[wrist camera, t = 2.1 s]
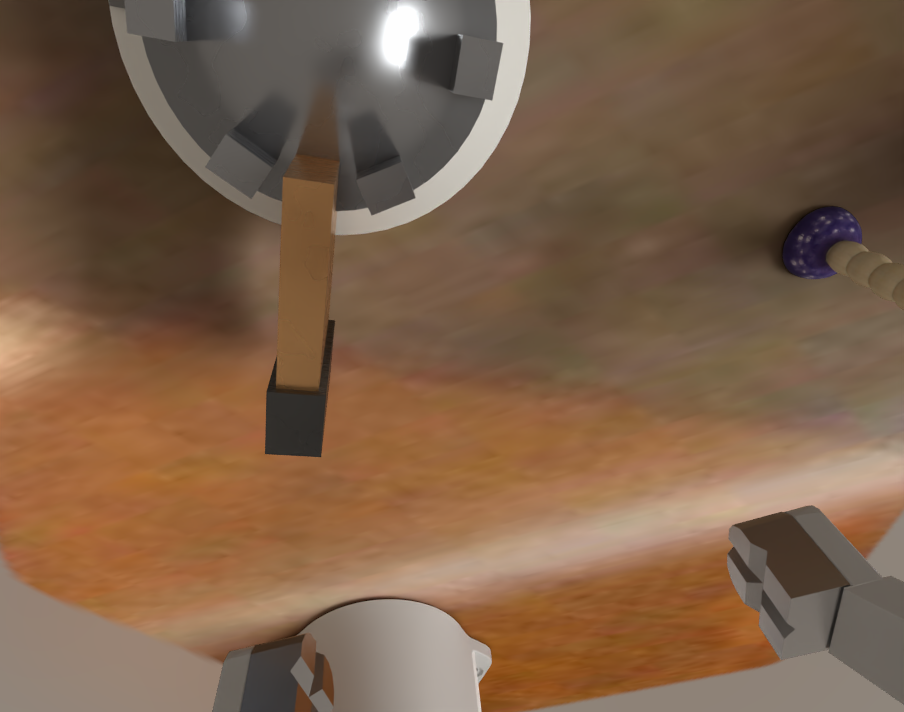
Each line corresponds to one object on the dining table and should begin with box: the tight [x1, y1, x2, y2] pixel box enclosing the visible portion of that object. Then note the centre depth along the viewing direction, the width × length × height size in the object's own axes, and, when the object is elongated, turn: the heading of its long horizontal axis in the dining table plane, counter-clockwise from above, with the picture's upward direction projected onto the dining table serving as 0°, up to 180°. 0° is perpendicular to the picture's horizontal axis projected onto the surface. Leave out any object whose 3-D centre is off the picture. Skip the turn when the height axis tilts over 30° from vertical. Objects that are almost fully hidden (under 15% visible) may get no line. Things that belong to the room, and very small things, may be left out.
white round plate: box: [109, 0, 531, 235], centre depth 23 cm, size 16×16×3 cm
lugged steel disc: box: [124, 0, 503, 457], centre depth 21 cm, size 21×12×7 cm, turn 170°
